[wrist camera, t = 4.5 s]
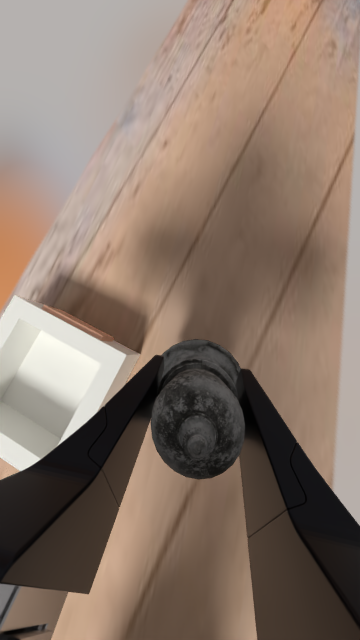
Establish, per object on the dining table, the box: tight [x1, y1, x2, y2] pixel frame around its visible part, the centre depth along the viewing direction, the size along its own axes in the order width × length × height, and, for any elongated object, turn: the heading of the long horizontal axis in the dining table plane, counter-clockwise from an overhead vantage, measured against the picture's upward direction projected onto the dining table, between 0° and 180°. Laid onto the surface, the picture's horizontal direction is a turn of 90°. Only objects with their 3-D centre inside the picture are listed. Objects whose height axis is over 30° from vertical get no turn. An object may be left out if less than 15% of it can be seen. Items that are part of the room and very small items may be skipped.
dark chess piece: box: [151, 339, 245, 479], centre depth 10 cm, size 6×6×12 cm
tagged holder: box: [0, 295, 140, 471], centre depth 18 cm, size 11×12×4 cm
